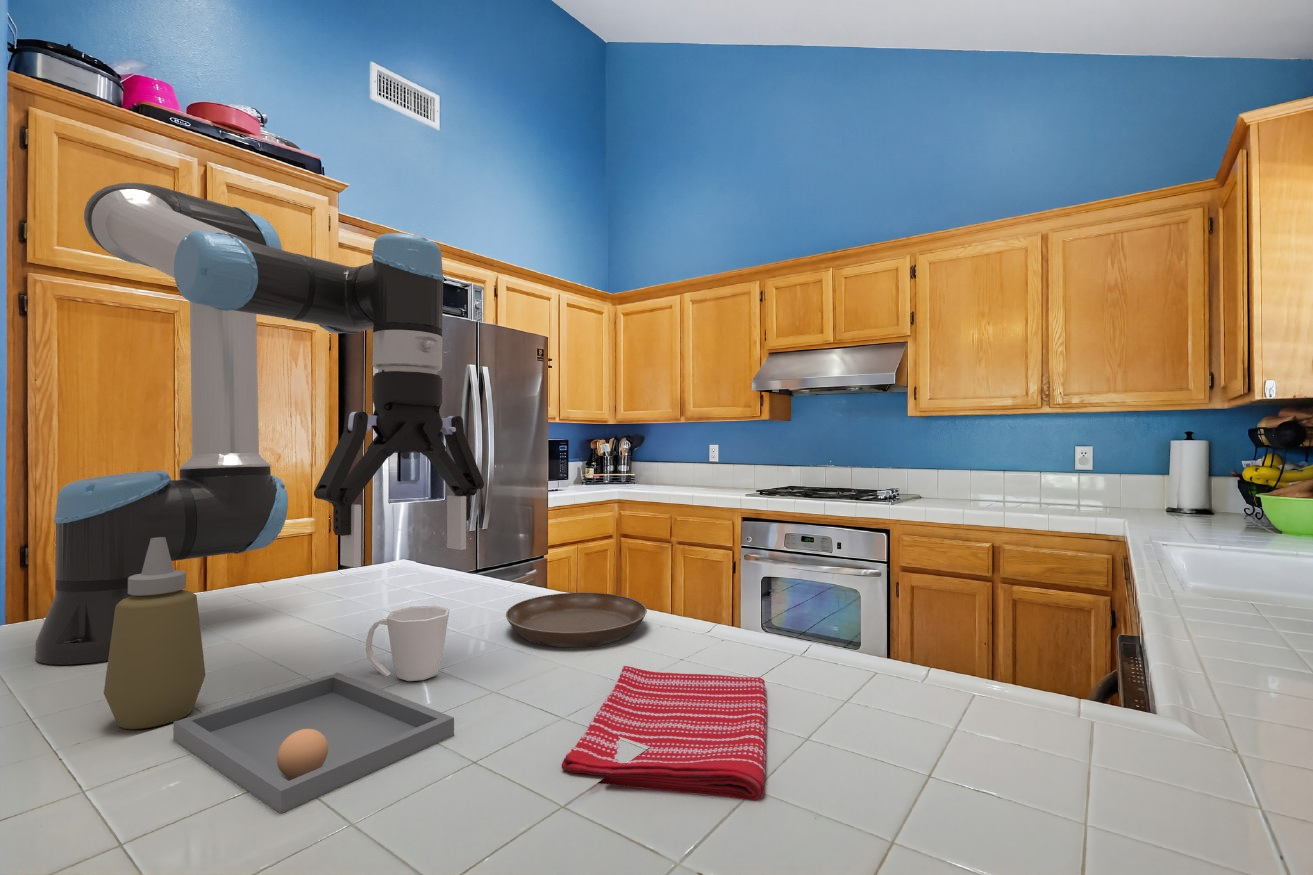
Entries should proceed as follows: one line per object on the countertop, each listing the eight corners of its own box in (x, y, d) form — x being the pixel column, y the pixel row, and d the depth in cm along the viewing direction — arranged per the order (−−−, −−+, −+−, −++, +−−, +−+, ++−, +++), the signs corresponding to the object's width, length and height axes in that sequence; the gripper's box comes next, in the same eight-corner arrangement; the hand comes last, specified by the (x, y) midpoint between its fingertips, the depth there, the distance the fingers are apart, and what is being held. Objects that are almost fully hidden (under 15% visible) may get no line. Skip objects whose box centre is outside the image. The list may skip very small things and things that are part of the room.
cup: (430, 697, 69) (430, 622, 69) (347, 691, 70) (348, 618, 70) (461, 674, 76) (461, 606, 76) (385, 669, 77) (385, 602, 77)
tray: (173, 748, 57) (173, 721, 57) (337, 694, 69) (337, 672, 69) (280, 824, 46) (280, 791, 46) (454, 743, 58) (454, 717, 58)
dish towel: (551, 790, 51) (552, 757, 51) (619, 682, 74) (619, 659, 74) (766, 812, 48) (766, 777, 48) (767, 692, 71) (767, 669, 72)
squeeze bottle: (224, 707, 66) (226, 534, 66) (139, 742, 58) (141, 546, 58) (170, 697, 69) (172, 531, 69) (82, 729, 61) (84, 541, 61)
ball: (268, 778, 50) (268, 733, 50) (313, 760, 53) (314, 717, 53) (290, 793, 48) (290, 745, 48) (336, 772, 51) (337, 728, 51)
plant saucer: (644, 654, 84) (644, 629, 84) (488, 653, 84) (488, 628, 84) (648, 612, 104) (648, 592, 104) (523, 612, 104) (523, 591, 105)
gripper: (315, 357, 61) (314, 579, 61) (512, 379, 81) (512, 545, 81) (278, 363, 65) (277, 570, 65) (473, 383, 86) (473, 540, 85)
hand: (407, 556), depth 73 cm, fingers open, 13 cm apart
